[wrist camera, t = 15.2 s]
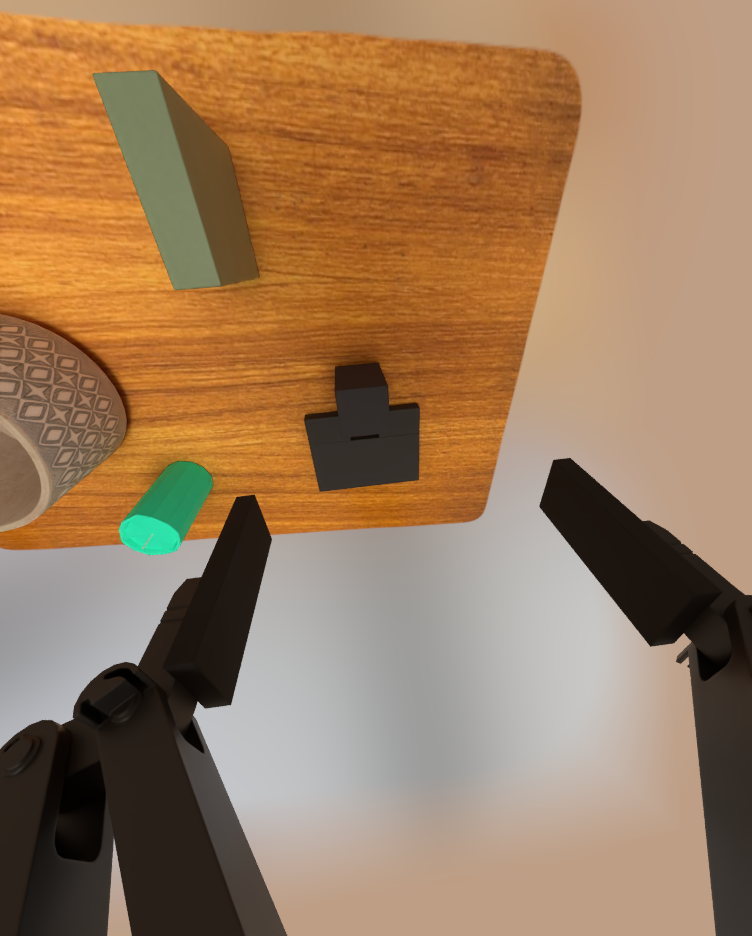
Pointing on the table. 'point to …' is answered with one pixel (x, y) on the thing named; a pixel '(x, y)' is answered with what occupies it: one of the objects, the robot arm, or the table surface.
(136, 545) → the candle
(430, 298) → the table surface
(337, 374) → the black rectangular block
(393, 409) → the pad
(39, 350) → the planter
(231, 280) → the stand
